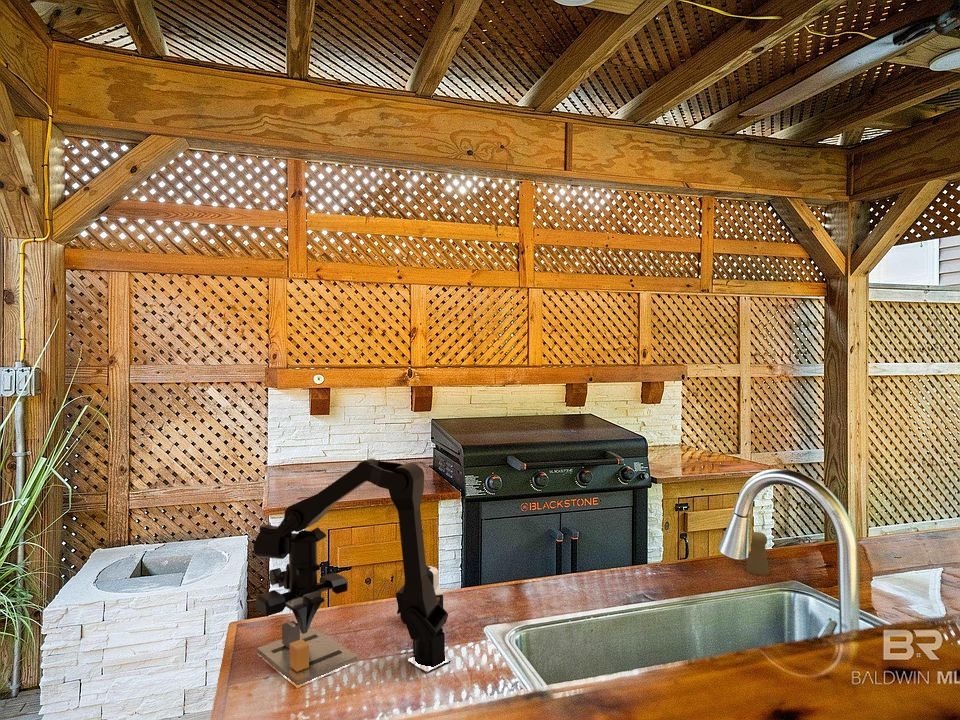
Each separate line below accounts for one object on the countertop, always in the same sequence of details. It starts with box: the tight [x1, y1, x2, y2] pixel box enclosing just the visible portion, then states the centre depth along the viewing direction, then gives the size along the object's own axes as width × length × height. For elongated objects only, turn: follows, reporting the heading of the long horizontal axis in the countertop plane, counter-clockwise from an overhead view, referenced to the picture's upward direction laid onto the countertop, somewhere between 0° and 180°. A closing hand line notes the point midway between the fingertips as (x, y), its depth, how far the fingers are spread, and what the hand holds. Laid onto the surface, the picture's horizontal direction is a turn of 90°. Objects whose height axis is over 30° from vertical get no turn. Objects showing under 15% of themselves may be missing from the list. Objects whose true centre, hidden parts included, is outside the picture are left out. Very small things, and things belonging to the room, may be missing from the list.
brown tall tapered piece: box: [745, 531, 770, 576], centre depth 164 cm, size 6×6×11 cm
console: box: [256, 627, 359, 685], centre depth 118 cm, size 18×13×2 cm
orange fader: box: [290, 639, 309, 672], centre depth 111 cm, size 3×2×4 cm
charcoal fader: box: [281, 619, 301, 648], centre depth 121 cm, size 3×2×4 cm
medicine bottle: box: [426, 565, 444, 608], centre depth 136 cm, size 7×7×12 cm
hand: (303, 632), depth 123 cm, fingers closed
